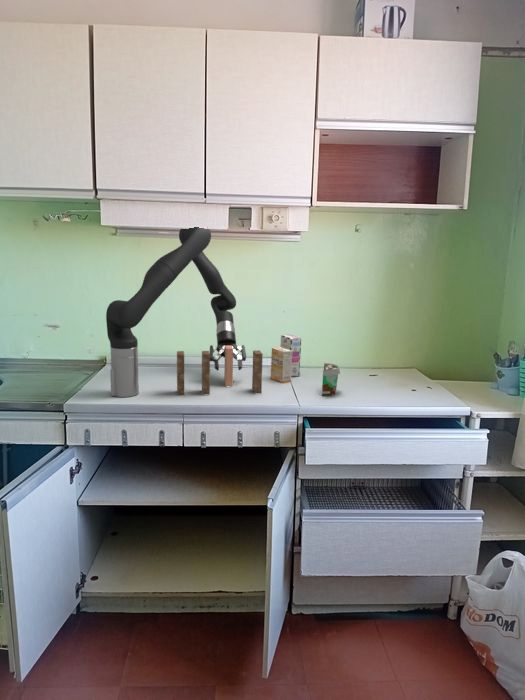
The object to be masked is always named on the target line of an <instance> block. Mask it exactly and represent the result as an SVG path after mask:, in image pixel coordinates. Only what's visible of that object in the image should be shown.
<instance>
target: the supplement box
mask: <svg viewBox="0 0 525 700" xmlns="http://www.w3.org/2000/svg"><path fill="white" fill-rule="evenodd" d="M292 352H293V351H292V350H288V349H285V348H282V347H280V346H277V347H271V361H270V362H271V363H270V379H271V380H274V381H277V382H279V383H282V384H286V383H292V377H291V373H292Z"/></svg>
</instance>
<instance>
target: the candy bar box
mask: <svg viewBox="0 0 525 700" xmlns="http://www.w3.org/2000/svg"><path fill="white" fill-rule="evenodd" d="M279 347H282V348H285V349H288V350H292V351H293V352H292V373H291V378H297V377H298V378H299V377H300V371H301V369H300V368H301V367H300V366H301V351H302V350H301V349H302V338H300V337H297V336H295V335H293V334H281V335H280V346H279Z"/></svg>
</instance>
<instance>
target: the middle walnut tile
mask: <svg viewBox="0 0 525 700" xmlns="http://www.w3.org/2000/svg"><path fill="white" fill-rule="evenodd" d="M210 377H211V361H210V350H201V393H203V394H211V393H210V390H211V389H210V385H211V384H210V383H211V382H210V381H211V380H210V379H211V378H210ZM203 394H202V395H203Z"/></svg>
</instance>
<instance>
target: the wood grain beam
mask: <svg viewBox="0 0 525 700" xmlns="http://www.w3.org/2000/svg"><path fill="white" fill-rule="evenodd" d="M263 355H264V354H263V352H262V351H261V350H258V349H257V350H252V374H251V375H252V378H251V379H252V381H251V382H252V383H251V384H252V385H251V390H252V389H253V390H252V392H253V391H254V392H255V393H261V394H262V392H263V391H262V384H263ZM254 392H253V393H254ZM255 393H254V394H255Z"/></svg>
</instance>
